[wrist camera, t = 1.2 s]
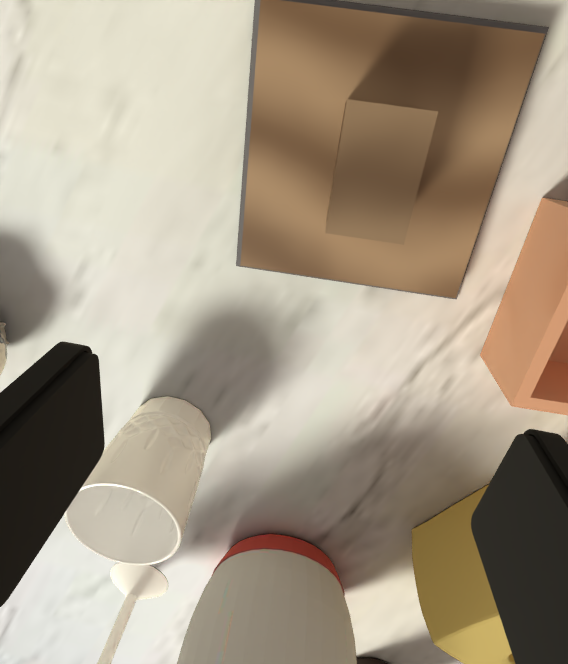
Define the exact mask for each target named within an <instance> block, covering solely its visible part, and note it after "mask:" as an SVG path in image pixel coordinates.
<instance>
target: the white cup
mask: <svg viewBox="0 0 568 664" xmlns="http://www.w3.org/2000/svg"><path fill="white" fill-rule="evenodd" d="M210 440H211V432H210V424H209V422H208V421H207V419H206V418H205V416H204V415H203V413H202V412H201V411H200V410H199V409H198V408H196V407H195V406H193V405H192V404H190V403H189V402H187V401H185V400H182V399H178V398H173V397H169V396H166V397H159V398H152V399H150V400H149V401H147V402H146V403H144V404H143V405H142V406H140V407H139V408H138V409H137V411H136V412H135V413H134V415H133V416H132V417H131V419H130V420H129V421H128V422H127V423H126V424H125V425H124V427H123V428H122V429H121V430H120V431H119V432H118V434H117V435H116V436H115V438H114V439H113V440H112V441H111V442H110V444H109V445H108V446H107V447H106V449H105V450H104V451H103V454H102V456H101V458H100V460H99V462H98V463H97V465H96V466H95V468H94V469H93V471H92V472H91V474H90V475H89V477H88V478H87V480H86V481H85V483H84V485H83V486H82V488H81V489H80V491H79V492H78V494H77V495H76V497H75V498H74V500H73V501H72V503H71V504H70V506H69V507H68V509H67V510H66V512H65V513H64V516H65V520H66V523H67V525H68V527H69V529H70V531H71V532H72V533H73V535H74V536H75V537H76V538H77V539H78V540H79V541H80V542H81V543H82V544H83V545H84V546H86V547H87V548H88V549H90V550H91V551H93V552H95V553H96V554H98V555H100V556H102V557H104V558H107V559H109V560H112V561H115V562H119V563H123V564H129V565H151V564H156V563H160V562H162V561H165V560H167V559H168V558H170V557H171V556H172V555H174V554H175V552H176V551H177V550H178V548H179V546H180V543H181V540H182V537H183V533H184V530H185V527H186V524H187V520H188V517H189V514H190V511H191V507H192V504H193V501H194V498H195V495H196V491H197V488H198V485H199V480H200V477H201V474H202V470H203V466H204V460H205V456H206V453H207V450H208V446H209V443H210Z"/></svg>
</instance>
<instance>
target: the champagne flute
mask: <svg viewBox="0 0 568 664" xmlns="http://www.w3.org/2000/svg"><path fill="white" fill-rule="evenodd" d="M110 576H111V579H112V581H113V582H114V584H115V585H116V586H117V587H118V588H119V589H120V590H121V591H122V593H123V594H124V595H125V596H126V598H125V601H124V603H123V605H122V608H121V610H120V612H119V614H118V617H117V619H116V621H115V624H114V626H113V628H112V631H111V633H110V635H109V638H108V640H107V642H106V645H105V647H104V649H103V651H102V654H101V656H100V658H99V661H98V663H97V664H111V661H112V659H113V656H114V654H115V652H116V649H117V647H118V644H119V642H120V639H121V637H122V634H123V632H124V630H125V627H126V625H127V622H128V620H129V617H130V615H131V612H132V610H133V608H134V605H135V603H136V600H141V599H149V598H156V597H159V596H161V595H163V594H164V593H165V592H166V591H167V589H168V582H167V580H166V578H165V576H164V575H163V574H162V573H161V572H160V571H159V570H157V569H156V568H154V567H152V566H150V565H129V564H123V563H117V564H115V565H114V566H113V567H112V568H111V571H110Z"/></svg>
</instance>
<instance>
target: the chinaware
mask: <svg viewBox="0 0 568 664" xmlns="http://www.w3.org/2000/svg"><path fill="white" fill-rule="evenodd" d="M5 325H6V323H2V322H0V375H1V373H2V371H3V369H4V366H5V363H6V359H7V346H6V344H9V342H8V341H7V340H6V332H5V329H4V326H5Z"/></svg>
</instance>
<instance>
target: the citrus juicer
mask: <svg viewBox="0 0 568 664" xmlns="http://www.w3.org/2000/svg"><path fill="white" fill-rule="evenodd" d="M177 664H357V660H356V649H355V639H354V634H353V628H352V623H351V618H350V614H349V610H348V607H347V604H346V601H345V597H344V590H343V587H342V584H341V581H340V579H339V576H338V574H337V572H336V570H335V567H334V565H333V564H332V562H331V561H330V559H329V558H328V557H327V556H326V555H325V554H324V553H323V552H322V551H321V550H319V549H318V548H317V547H315V546H314V545H312V544H309V543H307V542H305V541H303V540H300V539H297V538H294V537H289V536H284V535H276V534H267V535H258V536H254V537H249V538H247V539H244V540H242V541H240V542H238V543H237V544H235V545H234V546H232V548H231V549H230V550H229V551H228V552H227V554H226V555H225V556H224V557H223V559H222V560H221V561H220V563H219V564H218V565H217V567H216V568H215V570H214V572H213V574H212V577H211V579H210V580H209V582H208V584H207V585H206V587H205V589H204V591H203V593H202V595H201V597H200V600H199V602H198V604H197V606H196V608H195V611H194V613H193V615H192V618H191V621H190V624H189V626H188V629H187V632H186V635H185V638H184V641H183V644H182V648H181V651H180V655H179V658H178V662H177Z"/></svg>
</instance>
